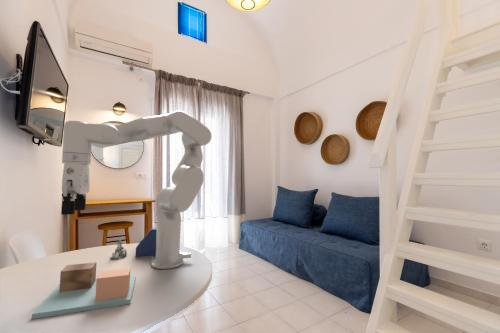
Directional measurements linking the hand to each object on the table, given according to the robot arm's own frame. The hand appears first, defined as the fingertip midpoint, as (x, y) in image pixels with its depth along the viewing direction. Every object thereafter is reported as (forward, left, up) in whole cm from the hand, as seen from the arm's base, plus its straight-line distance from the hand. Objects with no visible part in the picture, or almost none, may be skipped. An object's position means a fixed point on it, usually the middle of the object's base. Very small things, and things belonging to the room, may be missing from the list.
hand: (74, 212), depth 76 cm
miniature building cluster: (-12, -27, -25) cm, 38 cm away
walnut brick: (-3, +3, -23) cm, 23 cm away
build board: (-8, +8, -24) cm, 26 cm away
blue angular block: (-23, -31, -24) cm, 46 cm away
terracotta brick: (-14, +12, -23) cm, 29 cm away
